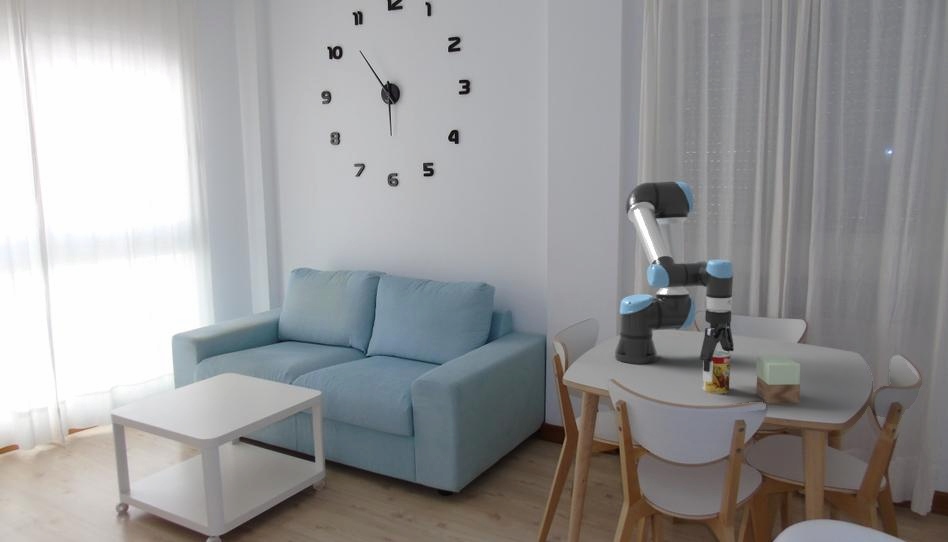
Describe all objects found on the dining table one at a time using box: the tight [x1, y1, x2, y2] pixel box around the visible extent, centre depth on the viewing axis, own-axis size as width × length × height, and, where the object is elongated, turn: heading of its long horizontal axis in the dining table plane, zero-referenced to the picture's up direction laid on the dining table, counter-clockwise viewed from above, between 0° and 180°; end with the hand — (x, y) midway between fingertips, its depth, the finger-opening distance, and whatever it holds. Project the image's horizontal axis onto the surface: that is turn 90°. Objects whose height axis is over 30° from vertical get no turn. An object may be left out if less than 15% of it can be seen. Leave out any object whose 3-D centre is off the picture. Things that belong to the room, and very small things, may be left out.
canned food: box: [702, 349, 731, 395], centre depth 202 cm, size 8×8×12 cm
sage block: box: [755, 355, 801, 385], centre depth 193 cm, size 9×9×6 cm
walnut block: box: [755, 375, 801, 405], centre depth 194 cm, size 9×9×6 cm
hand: (716, 375), depth 202 cm, fingers open, 13 cm apart
